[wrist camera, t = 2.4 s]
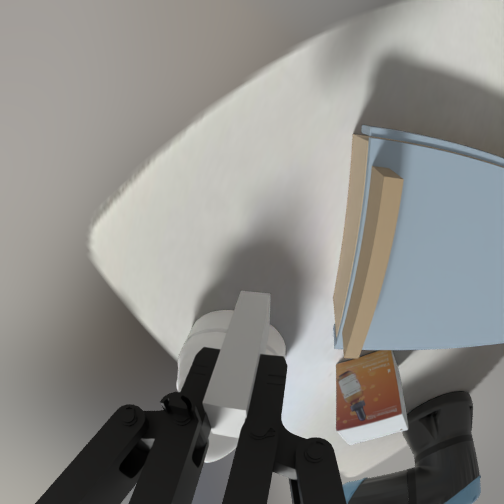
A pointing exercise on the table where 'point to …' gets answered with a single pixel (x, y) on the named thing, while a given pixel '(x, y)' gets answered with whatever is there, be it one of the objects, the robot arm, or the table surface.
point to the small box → (369, 398)
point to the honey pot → (212, 336)
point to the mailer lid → (426, 248)
